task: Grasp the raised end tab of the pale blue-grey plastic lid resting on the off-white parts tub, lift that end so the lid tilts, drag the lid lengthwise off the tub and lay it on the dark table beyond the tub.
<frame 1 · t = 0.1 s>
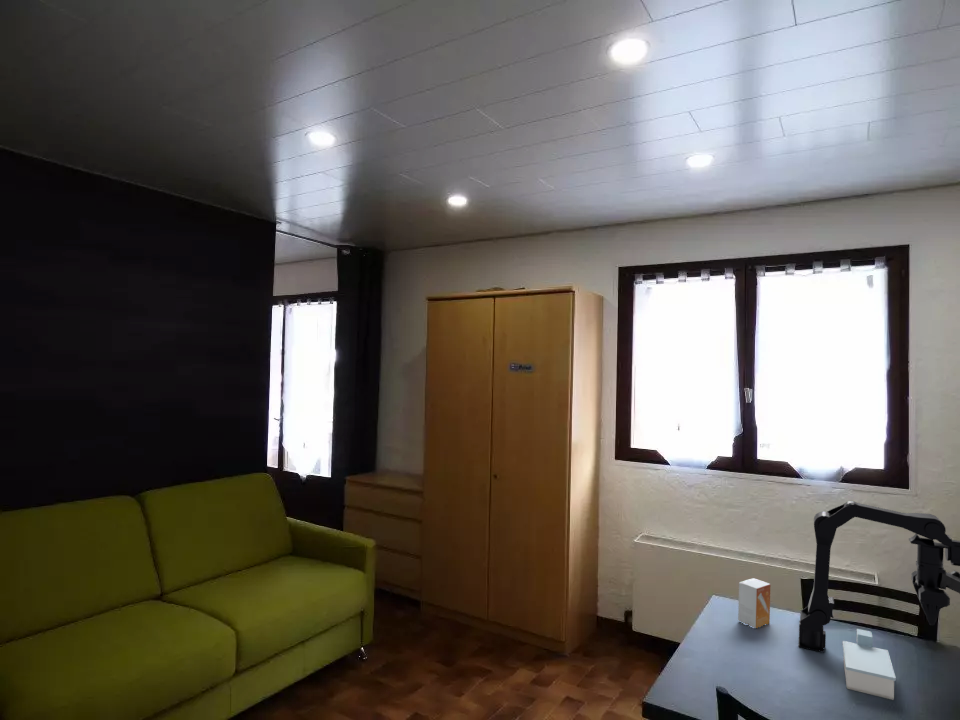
hand: (929, 618, 162), 15 cm above the table, fingers open, 9 cm apart
lid: (867, 660, 157), point 5 cm above the table, touching tub
small box: (753, 623, 190), on the table
tub: (867, 679, 157), on the table
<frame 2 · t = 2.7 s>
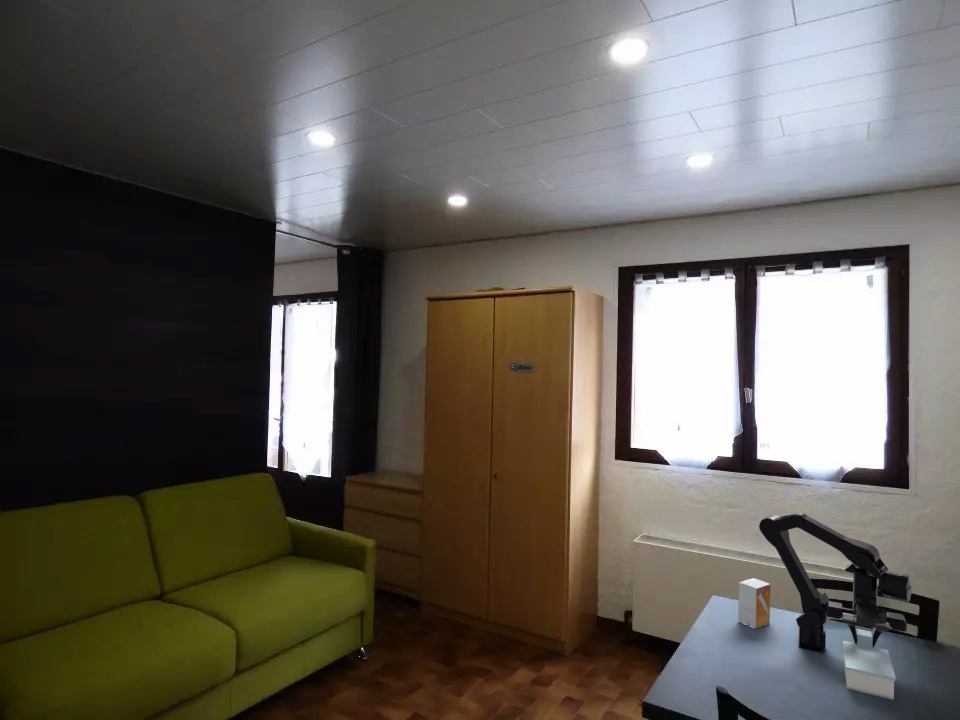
hand: (864, 646, 165), 5 cm above the table, fingers closed on lid, 3 cm apart
lid: (867, 660, 157), point 5 cm above the table, touching gripper, tub
everything else where it was.
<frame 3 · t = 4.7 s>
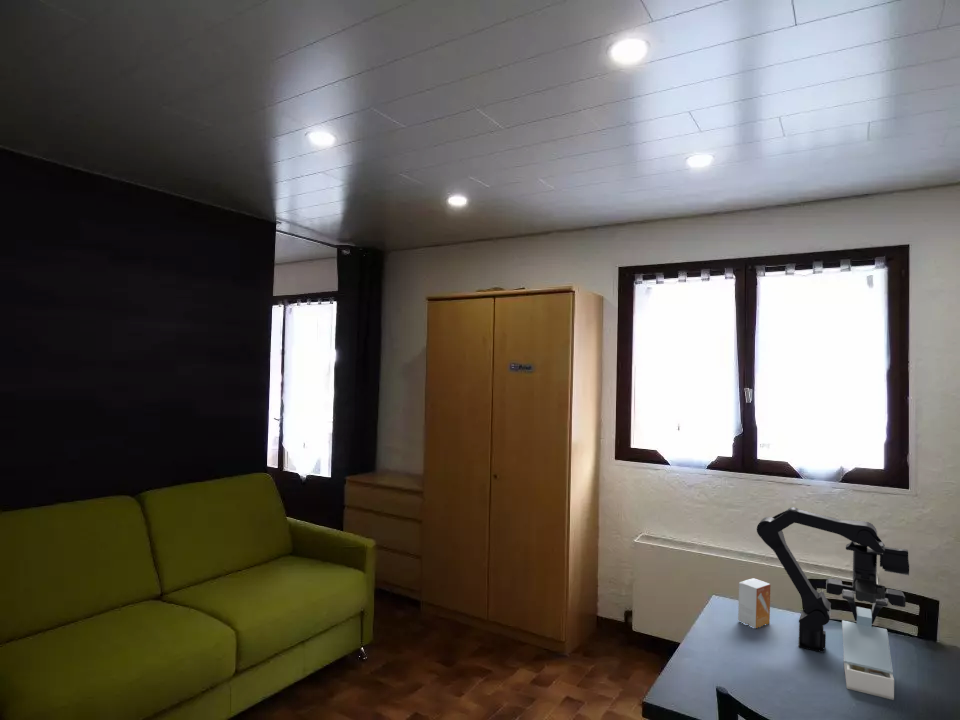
hand: (863, 622, 168), 10 cm above the table, fingers closed on lid, 3 cm apart
lid: (865, 646, 160), point 7 cm above the table, tilted 17°, touching gripper, tub
everything else where it was.
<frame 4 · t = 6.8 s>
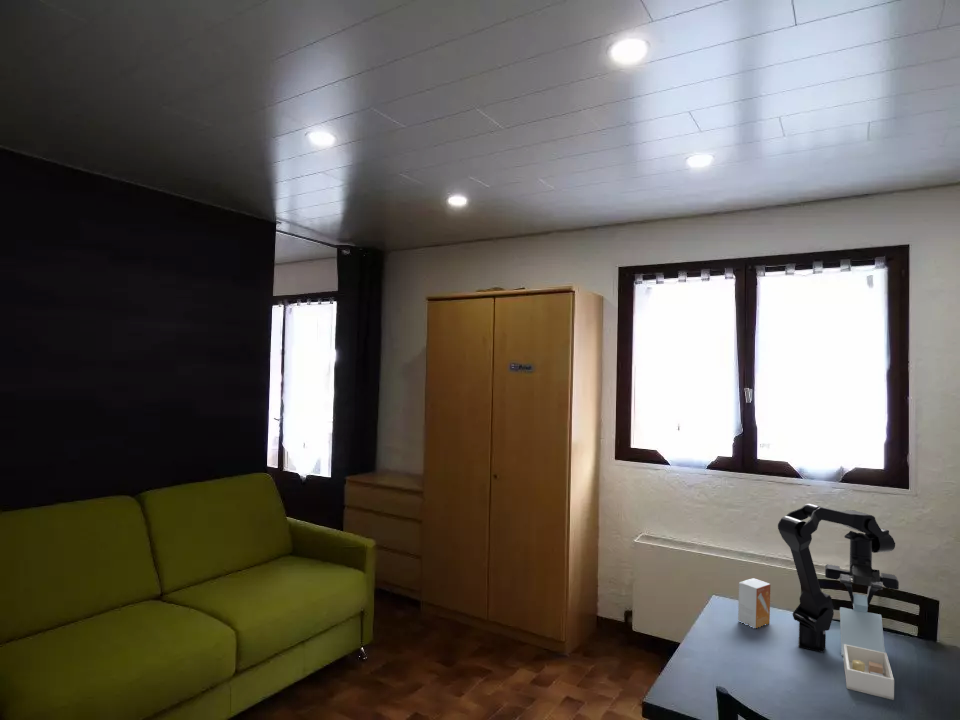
hand: (860, 604, 180), 11 cm above the table, fingers closed on lid, 3 cm apart
lid: (861, 635, 173), point 4 cm above the table, tilted 31°, touching gripper
everything else where it was.
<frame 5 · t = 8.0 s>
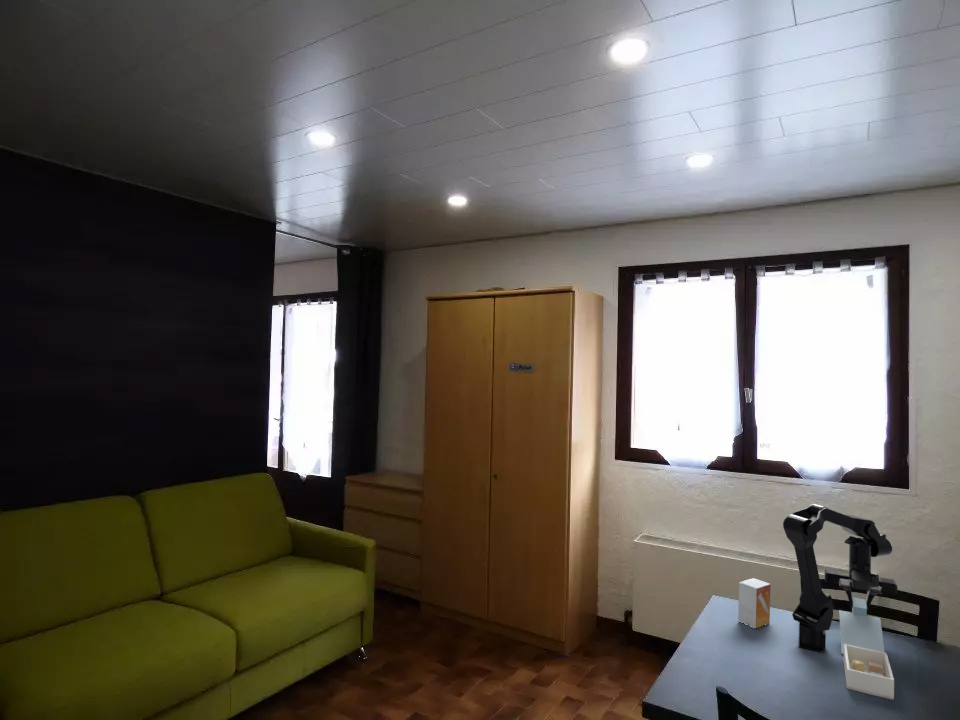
hand: (859, 608, 182), 9 cm above the table, fingers closed on lid, 3 cm apart
lid: (861, 636, 174), point 3 cm above the table, tilted 24°, touching gripper
everything else where it was.
when the fingers open (5 cm above the table, at t = 9.3 s): lid drops 2 cm, on the table.
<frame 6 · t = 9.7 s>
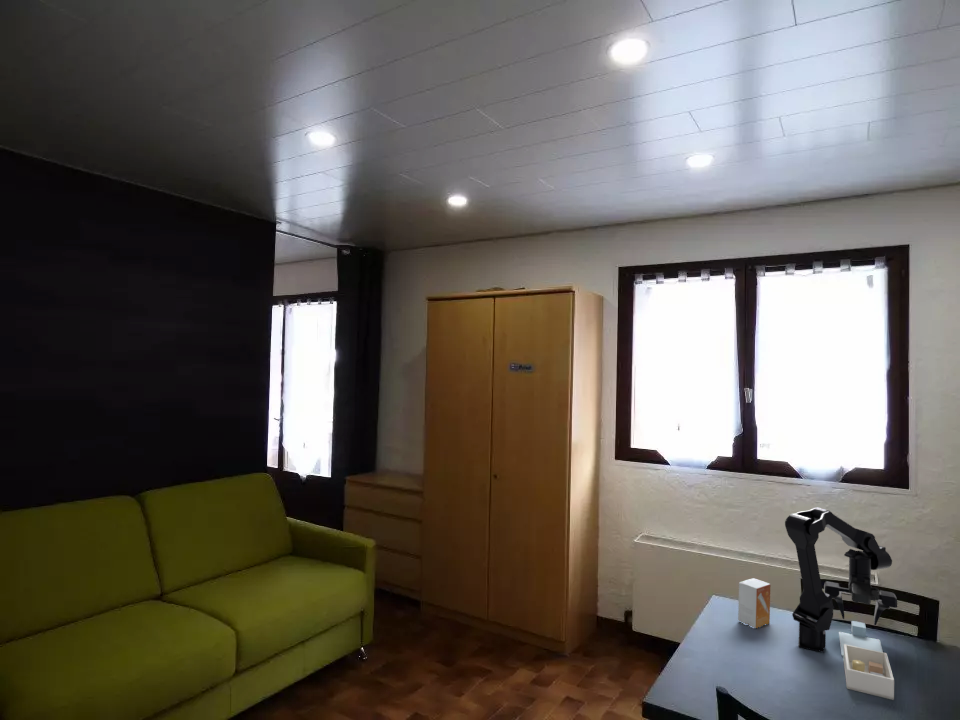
hand: (858, 621, 182), 5 cm above the table, fingers open, 8 cm apart
lid: (861, 649, 174), on the table
everything else where it was.
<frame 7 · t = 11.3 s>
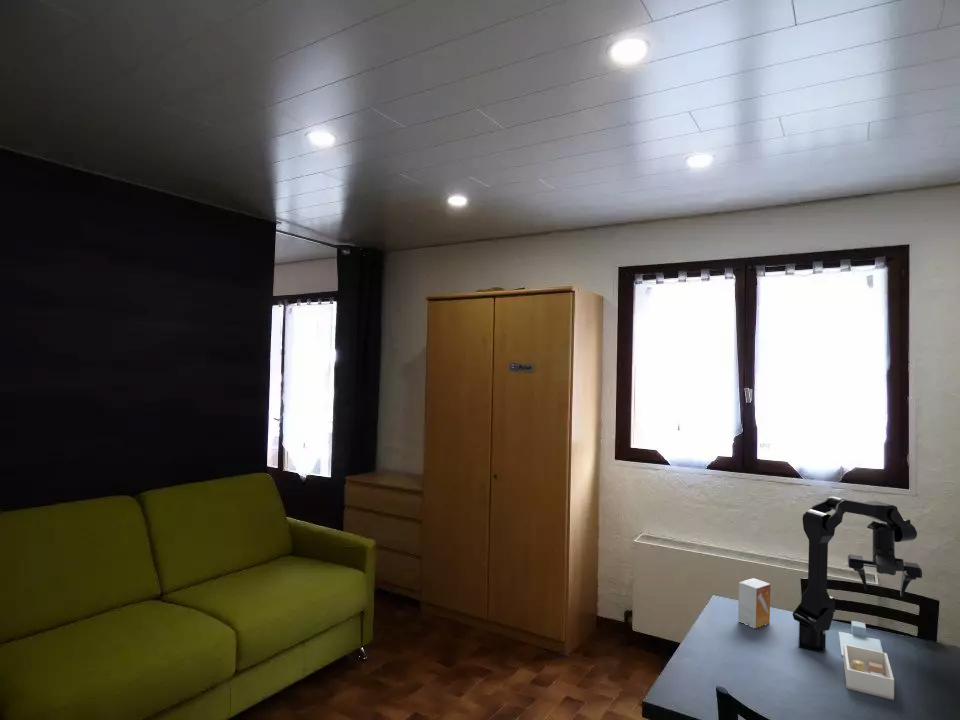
hand: (883, 593, 183), 13 cm above the table, fingers open, 9 cm apart
nothing on the table moved.
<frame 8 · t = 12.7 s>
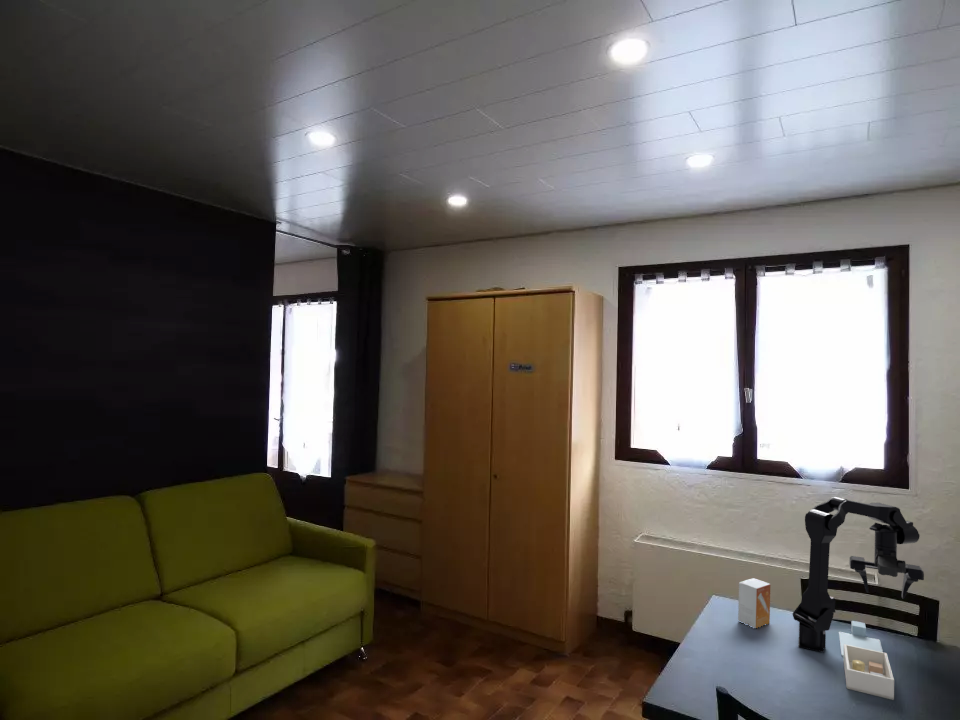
hand: (884, 595, 183), 12 cm above the table, fingers open, 9 cm apart
nothing on the table moved.
at the end: lid inside the target area (3.4 cm from its centre), on the table; the gripper is holding nothing; lid moved 20.3 cm from its start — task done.
